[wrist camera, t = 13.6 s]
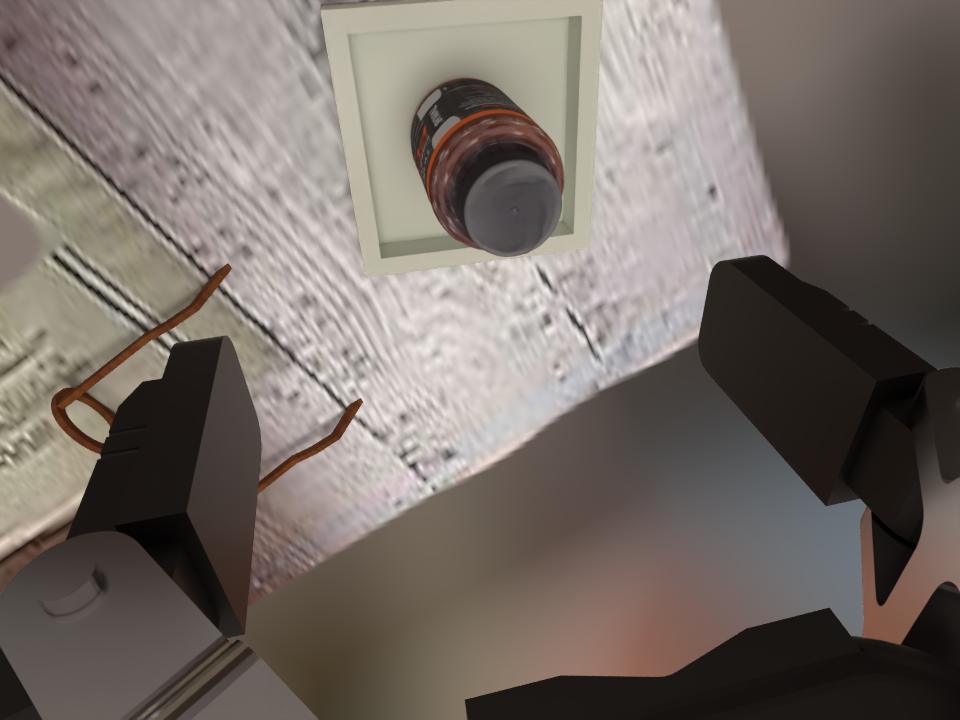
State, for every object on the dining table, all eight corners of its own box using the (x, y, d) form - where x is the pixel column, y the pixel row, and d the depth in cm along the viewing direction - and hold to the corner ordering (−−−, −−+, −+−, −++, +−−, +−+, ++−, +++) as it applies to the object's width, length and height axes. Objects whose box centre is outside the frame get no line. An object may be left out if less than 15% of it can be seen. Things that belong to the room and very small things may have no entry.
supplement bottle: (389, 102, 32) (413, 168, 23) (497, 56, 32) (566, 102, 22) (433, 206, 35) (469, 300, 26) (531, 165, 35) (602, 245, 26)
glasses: (62, 376, 38) (30, 428, 34) (228, 258, 36) (215, 298, 32) (222, 491, 45) (211, 545, 41) (367, 398, 43) (371, 445, 39)
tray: (363, 255, 37) (365, 277, 35) (321, 4, 30) (320, 10, 27) (573, 228, 39) (589, 248, 36) (582, -15, 31) (603, -11, 29)
